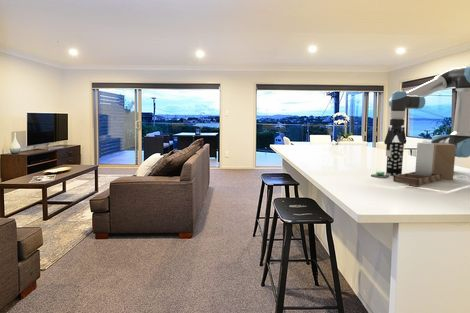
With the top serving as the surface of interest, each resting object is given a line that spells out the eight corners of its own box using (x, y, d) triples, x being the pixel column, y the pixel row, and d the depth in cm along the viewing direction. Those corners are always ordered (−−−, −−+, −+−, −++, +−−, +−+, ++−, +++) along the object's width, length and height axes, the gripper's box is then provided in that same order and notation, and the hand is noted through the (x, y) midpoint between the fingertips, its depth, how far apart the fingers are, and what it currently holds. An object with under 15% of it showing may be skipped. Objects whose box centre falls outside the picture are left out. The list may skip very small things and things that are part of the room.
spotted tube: (400, 175, 209) (402, 142, 207) (402, 178, 201) (404, 143, 199) (385, 174, 212) (387, 141, 209) (386, 177, 204) (388, 142, 201)
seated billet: (419, 177, 198) (421, 142, 196) (433, 180, 192) (436, 143, 189) (412, 179, 193) (414, 143, 191) (427, 181, 187) (430, 144, 184)
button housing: (377, 176, 204) (377, 173, 204) (389, 178, 199) (389, 175, 199) (370, 178, 200) (371, 174, 200) (382, 180, 195) (382, 176, 194)
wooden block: (453, 181, 193) (456, 144, 190) (433, 180, 195) (436, 144, 192) (446, 178, 202) (449, 143, 200) (427, 177, 204) (429, 142, 202)
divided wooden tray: (416, 178, 202) (417, 171, 201) (440, 181, 191) (441, 174, 191) (393, 183, 186) (393, 175, 186) (418, 187, 176) (418, 179, 176)
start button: (378, 176, 202) (378, 171, 202) (385, 177, 199) (386, 172, 199) (374, 177, 200) (374, 171, 199) (381, 178, 196) (381, 173, 196)
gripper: (402, 118, 213) (399, 153, 215) (379, 118, 198) (376, 155, 200) (414, 119, 207) (411, 154, 209) (392, 118, 192) (389, 157, 194)
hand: (394, 155), depth 205 cm, fingers open, 13 cm apart
